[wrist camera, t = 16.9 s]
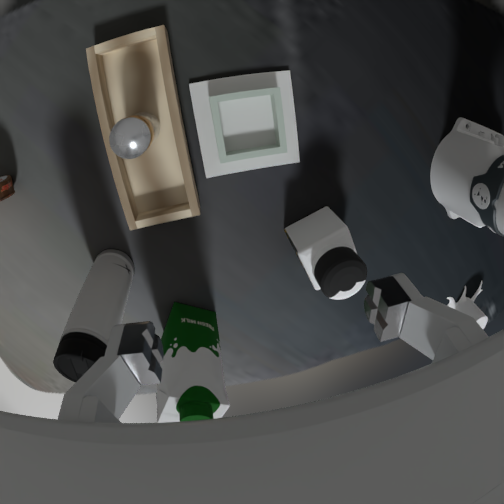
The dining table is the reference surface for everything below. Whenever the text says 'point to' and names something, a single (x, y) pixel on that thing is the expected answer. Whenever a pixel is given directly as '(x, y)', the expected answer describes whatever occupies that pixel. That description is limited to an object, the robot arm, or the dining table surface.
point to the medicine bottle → (328, 254)
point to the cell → (134, 135)
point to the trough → (153, 101)
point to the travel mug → (95, 314)
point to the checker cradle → (245, 122)
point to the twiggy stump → (469, 307)
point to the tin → (6, 187)
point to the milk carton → (191, 367)
